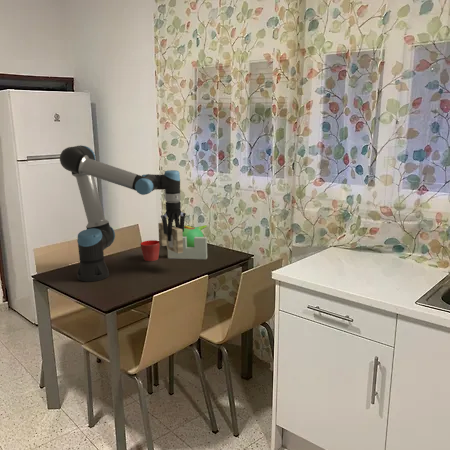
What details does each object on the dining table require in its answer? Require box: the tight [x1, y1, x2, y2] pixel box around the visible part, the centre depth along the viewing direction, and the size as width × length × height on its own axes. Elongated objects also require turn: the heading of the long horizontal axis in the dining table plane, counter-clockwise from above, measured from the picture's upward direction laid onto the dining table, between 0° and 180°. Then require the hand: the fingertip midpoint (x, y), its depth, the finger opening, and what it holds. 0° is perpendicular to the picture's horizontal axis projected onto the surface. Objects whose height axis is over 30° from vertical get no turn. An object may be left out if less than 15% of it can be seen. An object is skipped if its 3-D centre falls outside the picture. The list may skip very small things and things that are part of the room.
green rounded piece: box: [183, 224, 208, 247], centre depth 273 cm, size 18×17×15 cm
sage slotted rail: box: [167, 236, 208, 260], centre depth 255 cm, size 22×3×12 cm, turn 81°
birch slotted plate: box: [157, 221, 183, 253], centre depth 237 cm, size 20×3×12 cm, turn 36°
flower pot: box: [140, 239, 161, 262], centre depth 255 cm, size 11×11×10 cm
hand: (174, 246), depth 235 cm, fingers closed on birch slotted plate, 3 cm apart
